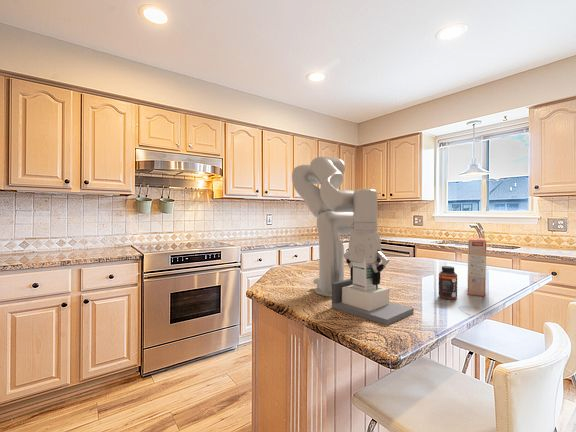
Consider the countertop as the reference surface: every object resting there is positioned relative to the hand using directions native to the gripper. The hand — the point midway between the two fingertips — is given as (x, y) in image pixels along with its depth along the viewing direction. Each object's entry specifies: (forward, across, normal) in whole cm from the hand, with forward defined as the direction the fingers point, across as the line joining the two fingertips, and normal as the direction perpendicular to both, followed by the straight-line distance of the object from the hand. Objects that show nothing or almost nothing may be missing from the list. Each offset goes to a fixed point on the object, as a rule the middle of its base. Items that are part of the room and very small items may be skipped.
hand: (364, 281), depth 96 cm
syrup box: (+6, 0, 0) cm, 6 cm away
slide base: (+9, +3, 0) cm, 9 cm away
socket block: (+7, 0, 0) cm, 7 cm away
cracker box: (+9, +17, +50) cm, 53 cm away
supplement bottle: (+9, +13, +33) cm, 36 cm away
